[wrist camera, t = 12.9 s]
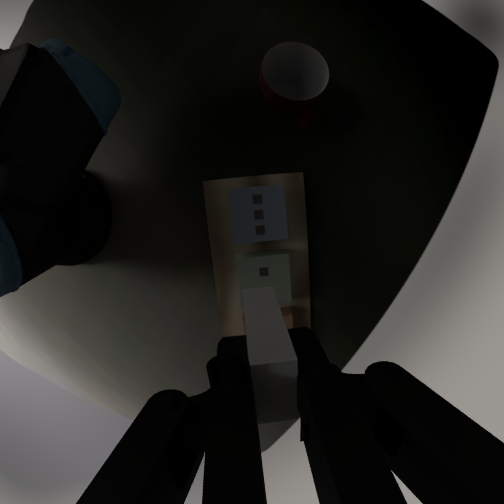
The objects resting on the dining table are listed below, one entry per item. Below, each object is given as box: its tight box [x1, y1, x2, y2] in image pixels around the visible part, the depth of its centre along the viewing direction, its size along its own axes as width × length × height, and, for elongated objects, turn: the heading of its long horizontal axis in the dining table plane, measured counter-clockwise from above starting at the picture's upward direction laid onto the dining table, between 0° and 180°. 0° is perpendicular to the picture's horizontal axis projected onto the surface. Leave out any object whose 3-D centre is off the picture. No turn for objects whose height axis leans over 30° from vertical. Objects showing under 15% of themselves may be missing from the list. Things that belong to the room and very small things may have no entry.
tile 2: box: [236, 249, 292, 308], centre depth 41 cm, size 7×7×3 cm
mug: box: [259, 41, 330, 127], centre depth 34 cm, size 11×8×10 cm
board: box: [203, 172, 311, 337], centre depth 43 cm, size 14×28×3 cm, turn 5°
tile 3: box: [229, 185, 288, 244], centre depth 39 cm, size 7×7×3 cm
